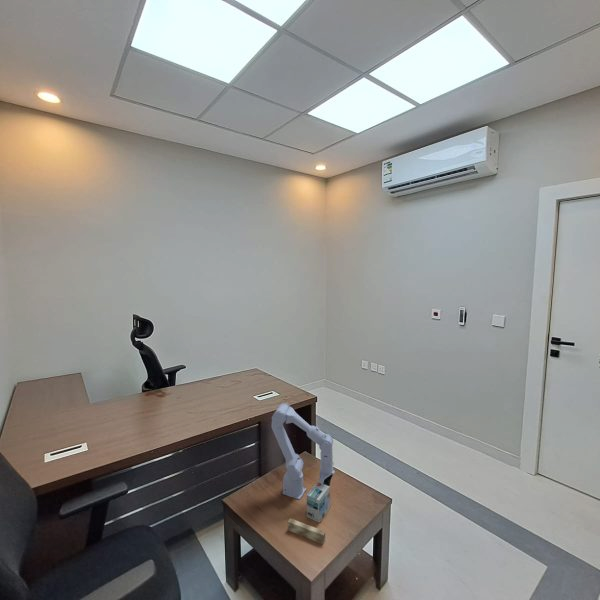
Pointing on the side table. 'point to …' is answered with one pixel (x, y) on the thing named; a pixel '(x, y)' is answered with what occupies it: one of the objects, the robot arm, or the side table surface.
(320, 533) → the metal block
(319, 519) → the light bulb box
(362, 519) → the side table surface
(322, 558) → the side table surface
